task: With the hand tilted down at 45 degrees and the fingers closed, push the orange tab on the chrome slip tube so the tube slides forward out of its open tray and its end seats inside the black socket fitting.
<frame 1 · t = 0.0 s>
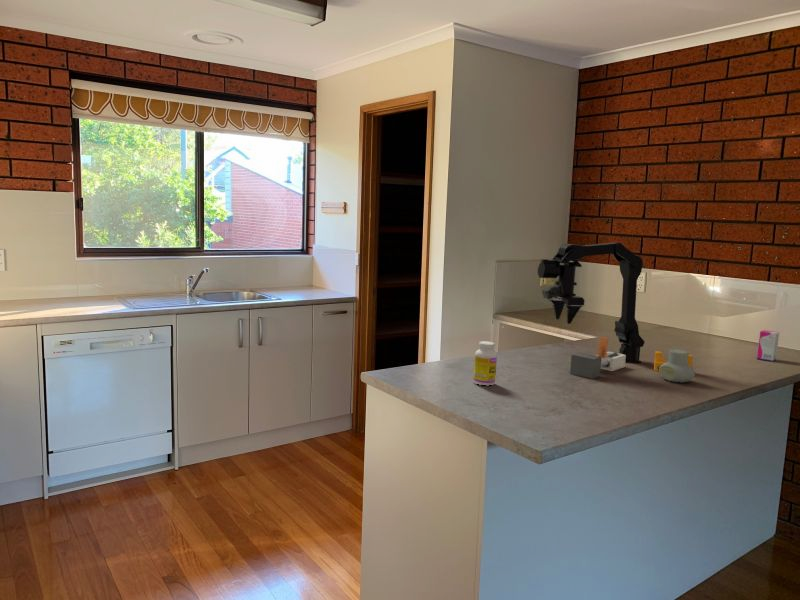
hand: (562, 321, 229), 15 cm above the worktop, tool pointing down, fingers open, 9 cm apart
supplement bottle: (484, 384, 194), on the worktop
open tray: (605, 368, 222), on the worktop
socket: (584, 375, 211), on the worktop
air freshener: (675, 381, 210), on the worktop
supplement box: (766, 360, 252), on the worktop
slip tube: (605, 351, 221), point 6 cm above the worktop, slide at 0.0 cm
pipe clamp: (672, 372, 223), on the worktop
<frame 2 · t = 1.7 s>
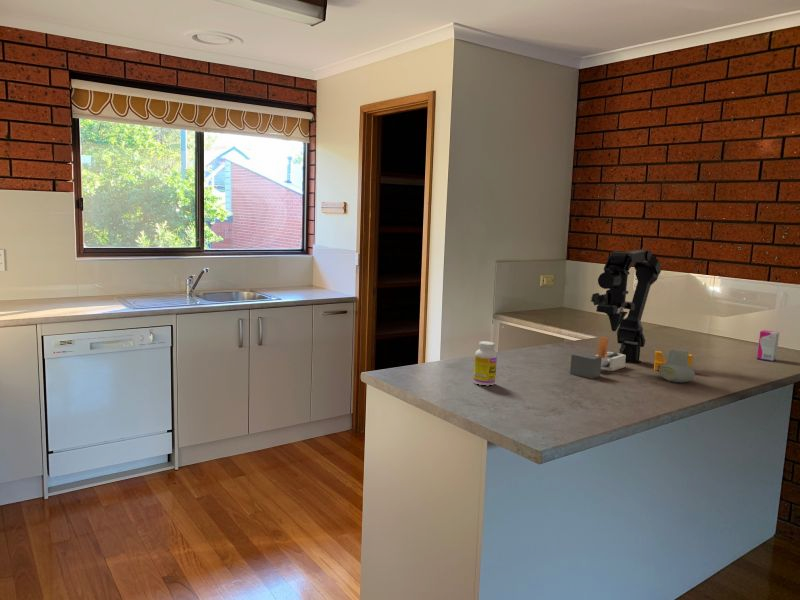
hand: (613, 331, 224), 13 cm above the worktop, tool pointing down, fingers closed
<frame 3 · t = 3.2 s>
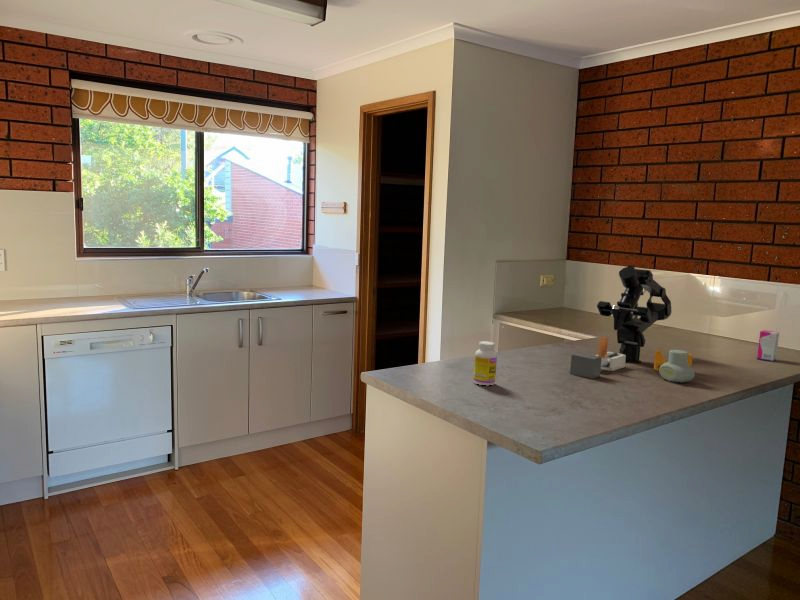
hand: (615, 329, 224), 13 cm above the worktop, tool tilted 45°, fingers closed
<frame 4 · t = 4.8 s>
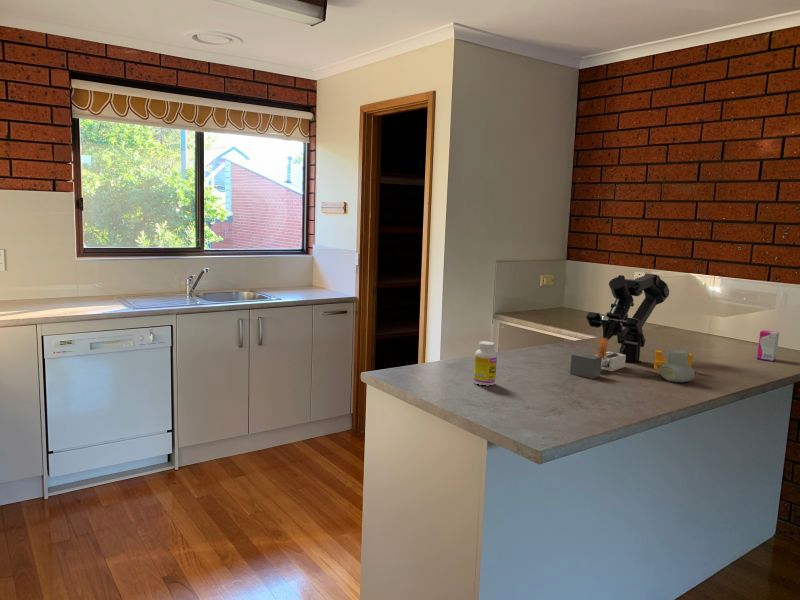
hand: (604, 341, 219), 10 cm above the worktop, tool tilted 45°, fingers closed, pressing on slip tube
slip tube: (605, 351, 220), point 6 cm above the worktop, slide at 0.6 cm, touching gripper
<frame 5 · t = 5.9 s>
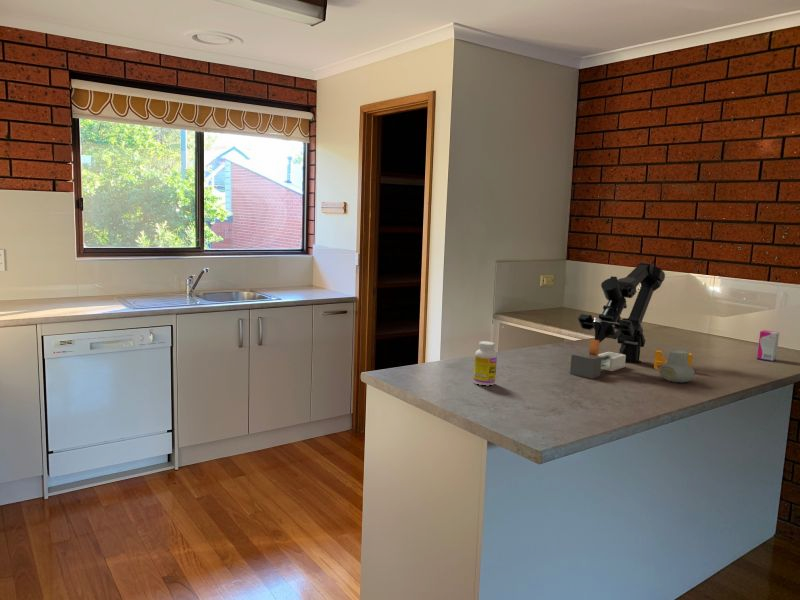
hand: (596, 343, 214), 10 cm above the worktop, tool tilted 45°, fingers closed, pressing on slip tube
slip tube: (597, 353, 216), point 6 cm above the worktop, slide at 6.7 cm, touching gripper
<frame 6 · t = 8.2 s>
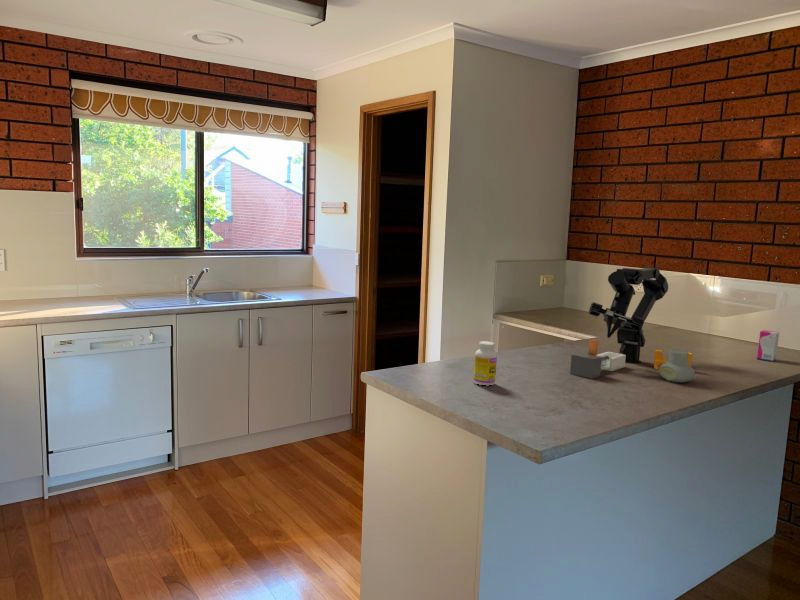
hand: (608, 337, 221), 11 cm above the worktop, tool tilted 35°, fingers closed
slip tube: (596, 353, 215), point 6 cm above the worktop, slide at 7.5 cm
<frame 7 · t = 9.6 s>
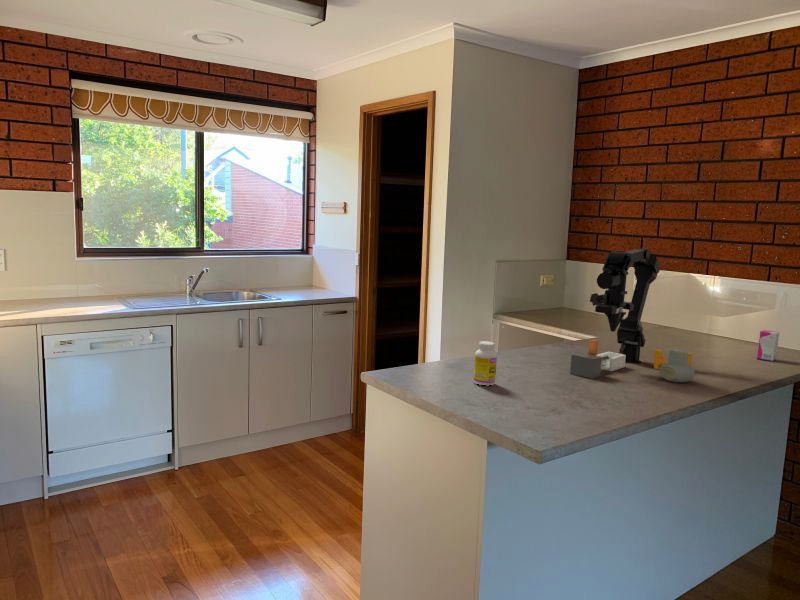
hand: (612, 331, 223), 13 cm above the worktop, tool pointing down, fingers closed
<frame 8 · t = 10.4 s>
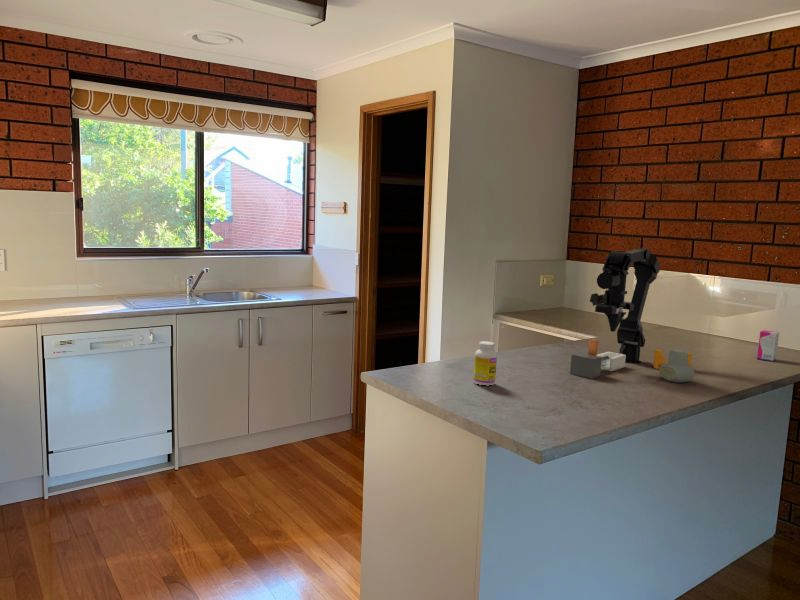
hand: (612, 331, 223), 13 cm above the worktop, tool pointing down, fingers closed
at the end: slip tube slide at 7.5 cm; the gripper is holding nothing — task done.
